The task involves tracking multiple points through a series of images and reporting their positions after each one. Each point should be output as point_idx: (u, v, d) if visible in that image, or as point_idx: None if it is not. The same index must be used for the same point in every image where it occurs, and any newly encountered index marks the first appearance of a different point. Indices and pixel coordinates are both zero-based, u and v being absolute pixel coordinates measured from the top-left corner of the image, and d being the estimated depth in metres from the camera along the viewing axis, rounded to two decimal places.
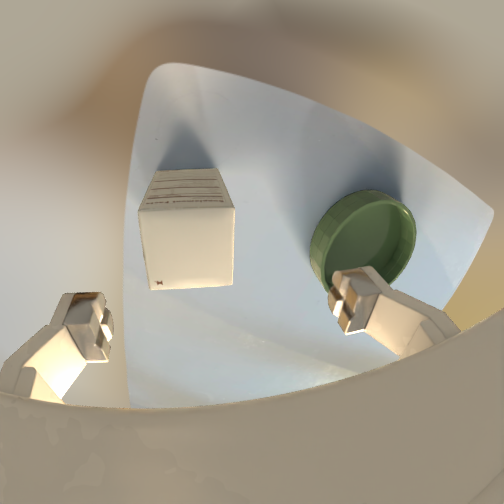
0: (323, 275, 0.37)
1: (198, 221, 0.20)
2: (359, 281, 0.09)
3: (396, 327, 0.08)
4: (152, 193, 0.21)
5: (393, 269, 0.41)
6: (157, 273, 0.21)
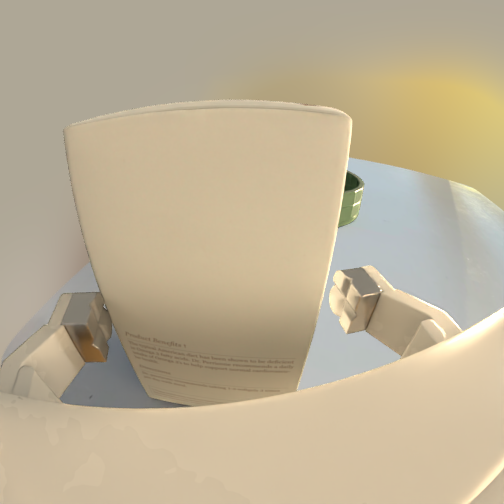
0: None
1: None
2: (360, 281, 0.09)
3: (397, 326, 0.08)
4: None
5: None
6: (270, 101, 0.06)
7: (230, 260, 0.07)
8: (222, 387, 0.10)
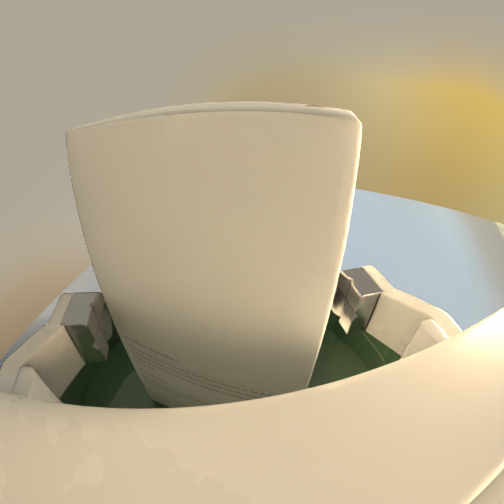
0: None
1: None
2: (360, 281, 0.09)
3: (397, 327, 0.08)
4: None
5: None
6: (268, 102, 0.05)
7: (215, 285, 0.06)
8: None
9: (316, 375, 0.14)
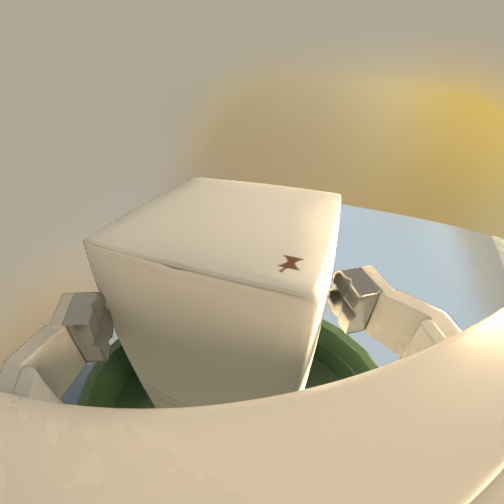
0: None
1: (182, 193, 0.11)
2: (359, 281, 0.09)
3: (396, 327, 0.08)
4: None
5: None
6: (252, 254, 0.06)
7: (214, 374, 0.08)
8: None
9: None
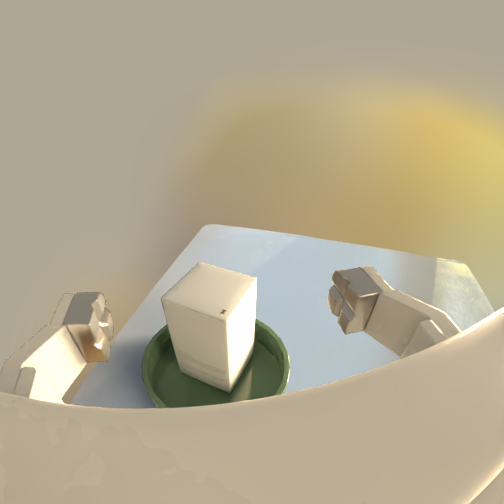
0: None
1: (193, 275, 0.28)
2: (359, 281, 0.09)
3: (396, 327, 0.08)
4: None
5: None
6: (213, 308, 0.24)
7: (203, 341, 0.25)
8: (205, 373, 0.29)
9: (253, 365, 0.33)
